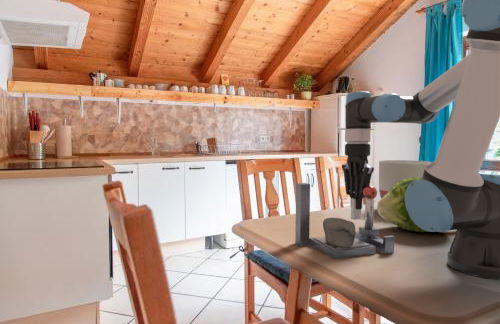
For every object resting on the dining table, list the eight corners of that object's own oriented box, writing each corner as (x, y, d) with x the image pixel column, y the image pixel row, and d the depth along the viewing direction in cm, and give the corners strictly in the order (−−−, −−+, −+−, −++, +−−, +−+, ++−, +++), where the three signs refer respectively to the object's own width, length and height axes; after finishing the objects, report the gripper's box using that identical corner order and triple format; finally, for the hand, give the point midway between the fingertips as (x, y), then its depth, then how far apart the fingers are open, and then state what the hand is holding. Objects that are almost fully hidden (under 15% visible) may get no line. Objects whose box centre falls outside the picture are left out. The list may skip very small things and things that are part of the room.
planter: (416, 218, 141) (418, 163, 139) (369, 210, 156) (370, 161, 154) (436, 211, 155) (438, 161, 153) (391, 204, 170) (392, 159, 168)
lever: (378, 236, 104) (380, 186, 103) (367, 237, 103) (368, 186, 102) (369, 232, 108) (371, 184, 107) (358, 233, 107) (360, 185, 106)
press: (394, 252, 98) (396, 187, 97) (326, 261, 91) (327, 191, 89) (355, 236, 114) (356, 180, 113) (295, 243, 107) (296, 183, 105)
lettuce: (374, 223, 134) (370, 177, 131) (441, 217, 130) (438, 169, 126) (386, 246, 115) (381, 192, 112) (464, 240, 111) (462, 184, 108)
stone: (320, 246, 96) (322, 210, 99) (322, 252, 103) (324, 218, 107) (355, 249, 93) (356, 212, 97) (354, 255, 101) (355, 220, 105)
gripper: (382, 143, 105) (380, 222, 106) (354, 142, 117) (353, 213, 119) (360, 143, 102) (359, 224, 104) (335, 142, 115) (333, 215, 116)
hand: (355, 218), depth 111 cm, fingers closed
